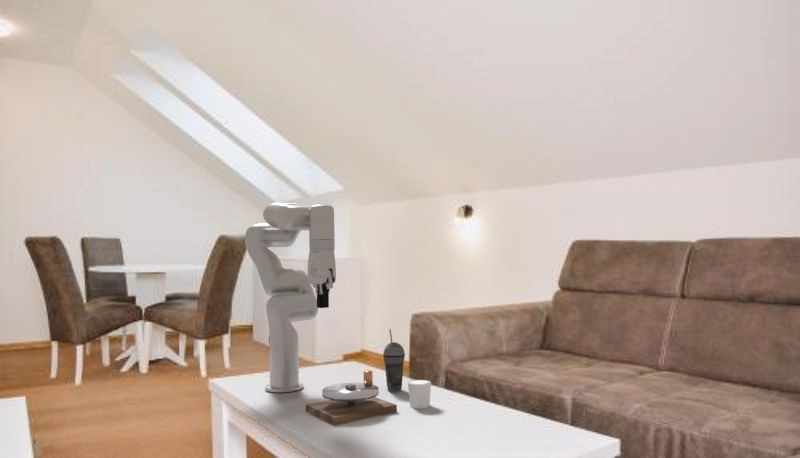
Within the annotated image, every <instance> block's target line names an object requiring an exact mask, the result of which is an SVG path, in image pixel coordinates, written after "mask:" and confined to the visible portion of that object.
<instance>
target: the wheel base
mask: <svg viewBox="0 0 800 458" xmlns="http://www.w3.org/2000/svg"><path fill="white" fill-rule="evenodd" d="M397 409H398V405H397V404H395V403H393V402H390V401H388V400H385V399H381V398H379V397H377V396H376V397H373V398H370V399H366V400H360V401H333V400H329V399H326V400H321V401H317V402H316V401H315V402H312V403H311V402H310V403H307V404H305V412H306V413H308V414H310V415H312V416H314V417H316V418H319V419H320V420H323V421H325V422H327V423H329V424H331V425H333V426H338V425H344V424H348V423H352V422H356V421H362V420H367V419H370V418H374V417H375V418H376V417H380V416H384V415H385V416H386V415H389V414H393V413H397V412H398V411H397Z"/></svg>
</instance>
